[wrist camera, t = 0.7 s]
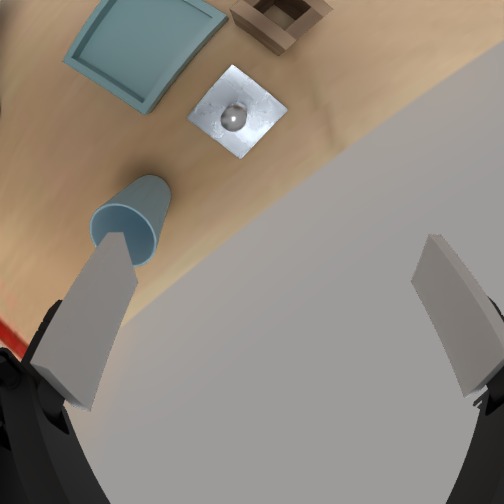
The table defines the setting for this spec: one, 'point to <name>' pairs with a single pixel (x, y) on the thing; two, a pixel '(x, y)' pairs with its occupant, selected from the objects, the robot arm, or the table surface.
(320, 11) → the bored block
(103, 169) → the table surface
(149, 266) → the table surface
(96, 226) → the cup
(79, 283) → the robot arm
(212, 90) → the knob mounting plate
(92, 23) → the tray
